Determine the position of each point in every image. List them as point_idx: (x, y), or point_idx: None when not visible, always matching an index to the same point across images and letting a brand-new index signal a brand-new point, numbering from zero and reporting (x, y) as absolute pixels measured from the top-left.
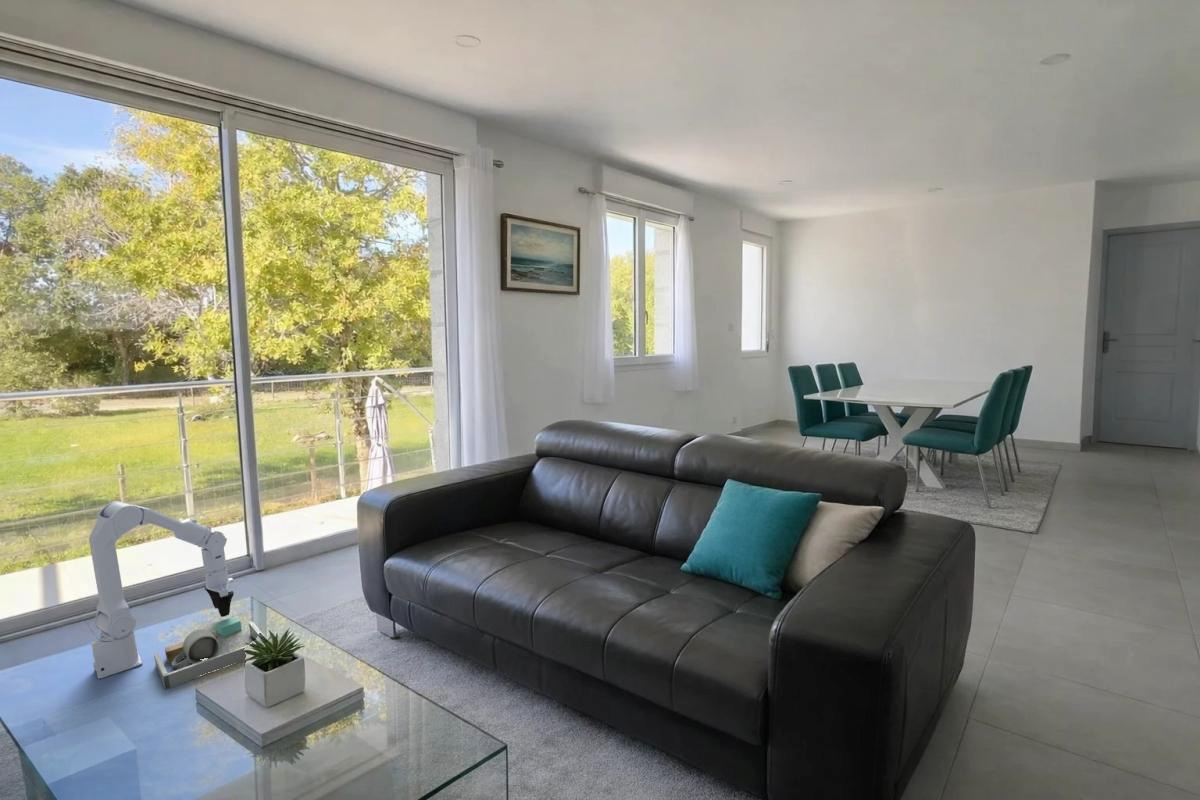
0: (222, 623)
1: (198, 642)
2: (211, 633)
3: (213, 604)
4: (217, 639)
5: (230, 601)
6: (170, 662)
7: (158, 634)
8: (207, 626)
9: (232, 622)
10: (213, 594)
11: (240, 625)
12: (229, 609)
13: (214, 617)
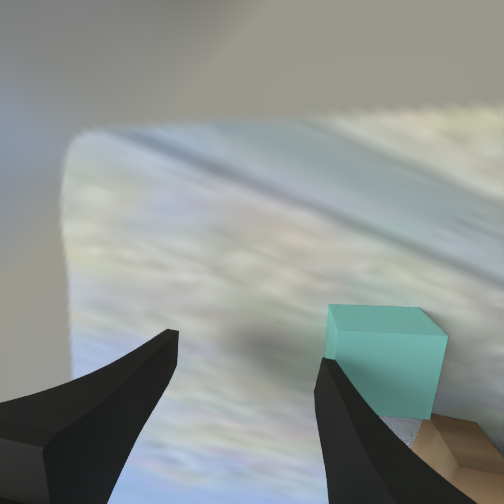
0: (373, 395)
1: None
2: (463, 481)
3: (161, 393)
4: (500, 456)
5: (404, 445)
6: None
7: (149, 473)
8: (230, 371)
9: (418, 366)
10: (118, 453)
11: (431, 322)
12: (351, 383)
13: (160, 321)
